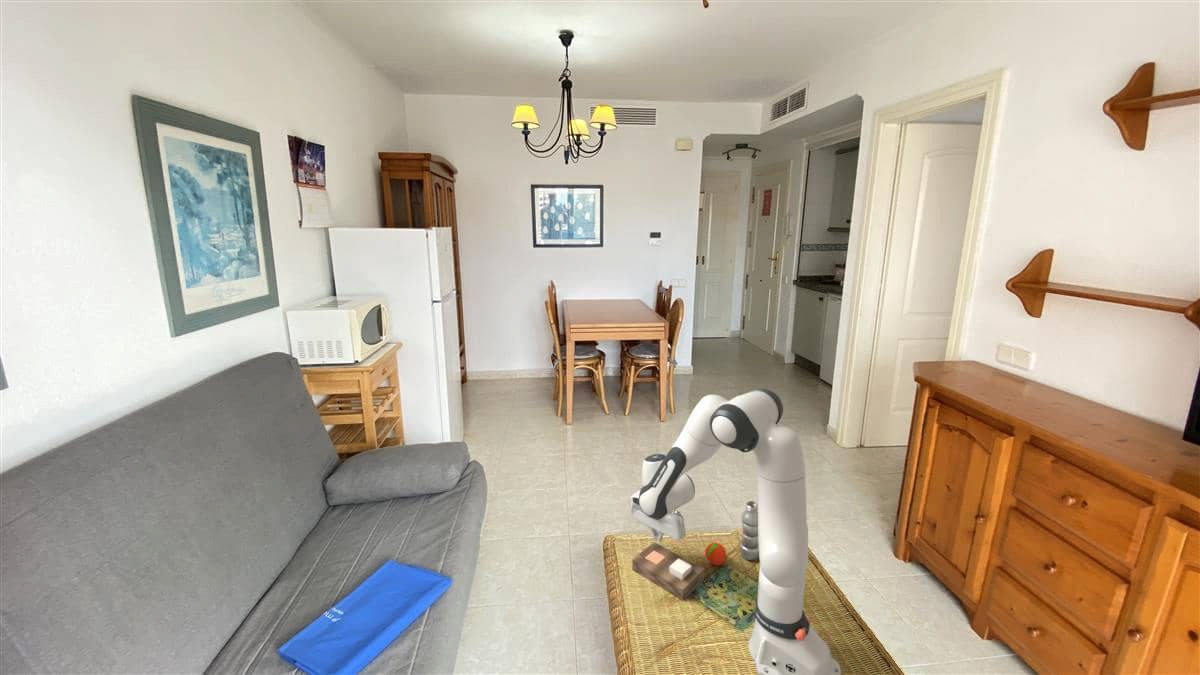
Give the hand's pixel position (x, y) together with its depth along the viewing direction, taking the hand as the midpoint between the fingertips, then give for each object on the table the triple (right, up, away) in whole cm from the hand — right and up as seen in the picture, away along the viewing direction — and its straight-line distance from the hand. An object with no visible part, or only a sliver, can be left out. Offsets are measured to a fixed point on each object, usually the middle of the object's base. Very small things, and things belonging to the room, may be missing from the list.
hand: (657, 539), depth 157 cm
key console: (+3, -11, -1) cm, 12 cm away
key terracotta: (0, -9, +2) cm, 10 cm away
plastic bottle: (+32, -9, +7) cm, 34 cm away
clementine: (+20, -10, +4) cm, 22 cm away
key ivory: (+7, -9, -5) cm, 12 cm away
